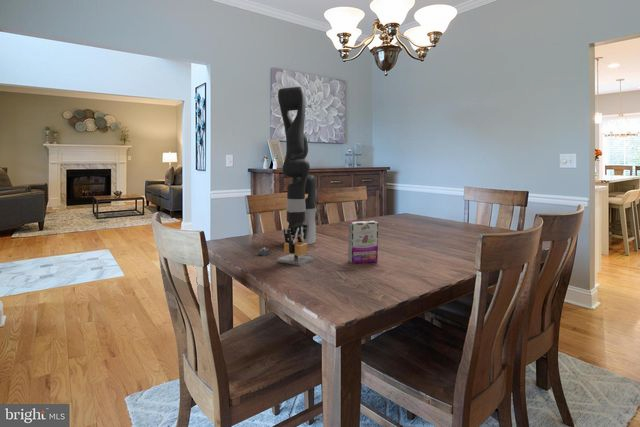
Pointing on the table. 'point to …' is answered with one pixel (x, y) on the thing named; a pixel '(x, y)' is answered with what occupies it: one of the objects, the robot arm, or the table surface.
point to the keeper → (296, 259)
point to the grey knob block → (264, 252)
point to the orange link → (297, 248)
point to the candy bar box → (363, 242)
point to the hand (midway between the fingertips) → (295, 251)
